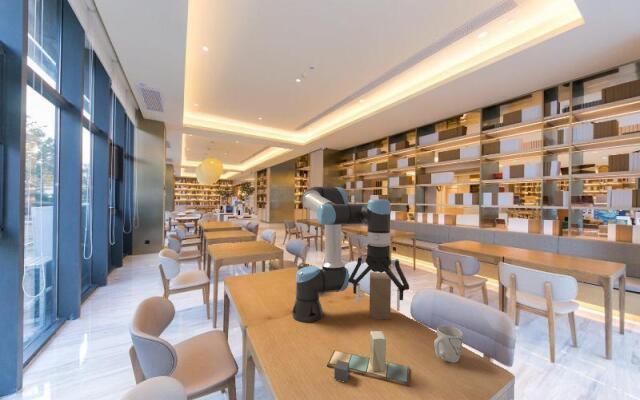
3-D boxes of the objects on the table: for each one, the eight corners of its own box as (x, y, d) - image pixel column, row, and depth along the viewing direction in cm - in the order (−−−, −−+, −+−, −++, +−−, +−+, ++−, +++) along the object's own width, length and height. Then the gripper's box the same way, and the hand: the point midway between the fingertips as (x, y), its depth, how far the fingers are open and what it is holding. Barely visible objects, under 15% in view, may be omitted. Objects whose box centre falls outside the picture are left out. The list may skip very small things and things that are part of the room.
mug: (445, 369, 86) (445, 340, 86) (425, 355, 94) (426, 329, 94) (467, 361, 91) (468, 333, 91) (447, 348, 99) (447, 323, 99)
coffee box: (299, 287, 164) (299, 263, 164) (309, 288, 164) (309, 263, 164) (297, 293, 155) (297, 267, 155) (308, 293, 155) (308, 267, 154)
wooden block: (390, 320, 121) (391, 279, 121) (369, 318, 123) (369, 277, 123) (389, 311, 131) (389, 273, 131) (369, 309, 133) (369, 271, 133)
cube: (334, 379, 81) (334, 367, 81) (337, 371, 85) (337, 360, 85) (346, 383, 80) (346, 370, 80) (349, 374, 84) (349, 362, 84)
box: (369, 361, 89) (369, 330, 89) (381, 361, 89) (381, 330, 89) (373, 372, 84) (373, 338, 83) (385, 371, 84) (386, 338, 84)
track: (326, 366, 87) (326, 363, 87) (334, 351, 96) (334, 349, 96) (409, 386, 78) (409, 383, 78) (409, 368, 87) (409, 365, 87)
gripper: (340, 243, 87) (339, 304, 87) (417, 249, 78) (416, 317, 79) (345, 240, 94) (344, 296, 94) (417, 245, 85) (416, 307, 86)
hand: (377, 306), depth 86 cm, fingers open, 13 cm apart
